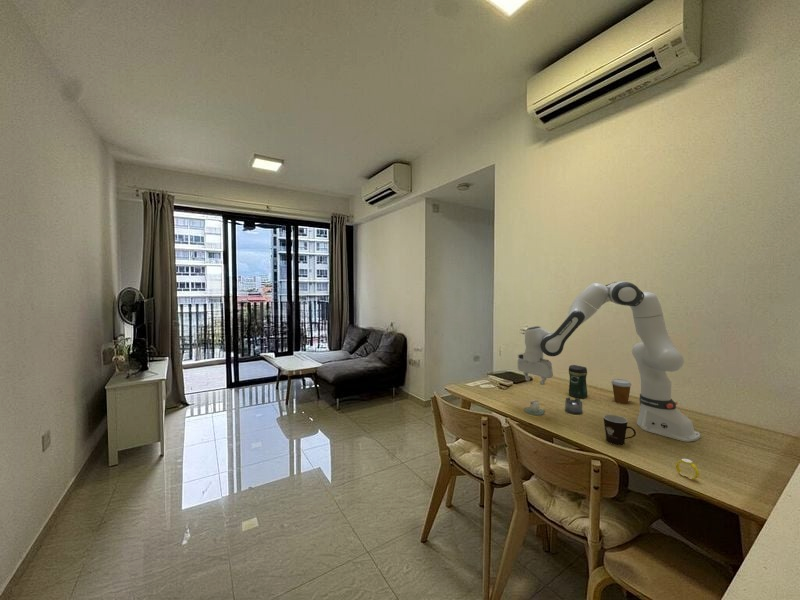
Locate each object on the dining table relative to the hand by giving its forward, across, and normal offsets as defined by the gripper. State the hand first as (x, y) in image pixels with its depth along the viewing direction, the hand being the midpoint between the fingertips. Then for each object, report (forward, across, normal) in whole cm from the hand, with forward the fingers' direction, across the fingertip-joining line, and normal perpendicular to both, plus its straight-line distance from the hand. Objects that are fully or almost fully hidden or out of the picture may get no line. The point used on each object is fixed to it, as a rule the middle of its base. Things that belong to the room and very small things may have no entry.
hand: (534, 382), depth 169 cm
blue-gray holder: (+16, -10, -18) cm, 26 cm away
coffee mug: (+16, -41, -2) cm, 44 cm away
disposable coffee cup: (+17, -14, -54) cm, 58 cm away
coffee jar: (+16, +4, -41) cm, 45 cm away
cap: (+15, 0, 0) cm, 15 cm away
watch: (+17, -66, +2) cm, 68 cm away
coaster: (+16, 0, +1) cm, 16 cm away
